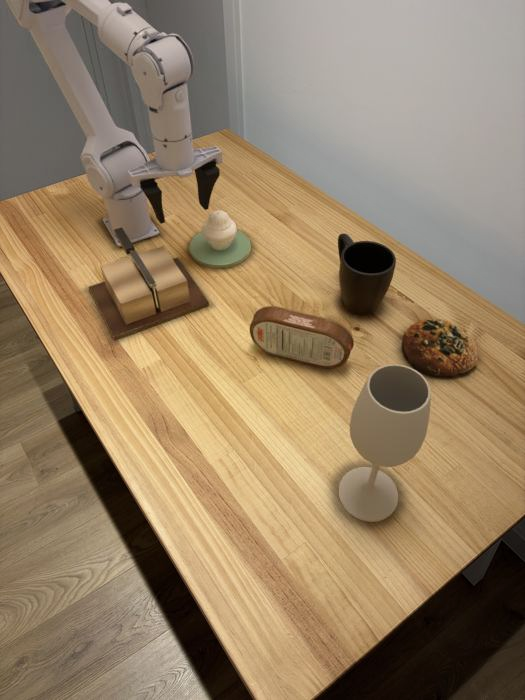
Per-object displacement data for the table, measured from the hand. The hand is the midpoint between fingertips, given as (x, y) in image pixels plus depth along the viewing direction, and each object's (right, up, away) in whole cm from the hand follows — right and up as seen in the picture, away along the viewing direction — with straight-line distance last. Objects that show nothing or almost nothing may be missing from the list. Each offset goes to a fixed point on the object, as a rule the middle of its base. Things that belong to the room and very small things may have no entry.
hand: (182, 213), depth 89 cm
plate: (+5, -4, +10) cm, 12 cm away
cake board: (-6, -14, +2) cm, 15 cm away
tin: (+18, -23, -7) cm, 31 cm away
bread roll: (+39, -22, -6) cm, 46 cm away
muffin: (+5, -4, +10) cm, 12 cm away
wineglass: (+26, -40, -22) cm, 52 cm away
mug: (+28, -13, +2) cm, 31 cm away
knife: (-7, -10, +2) cm, 13 cm away
